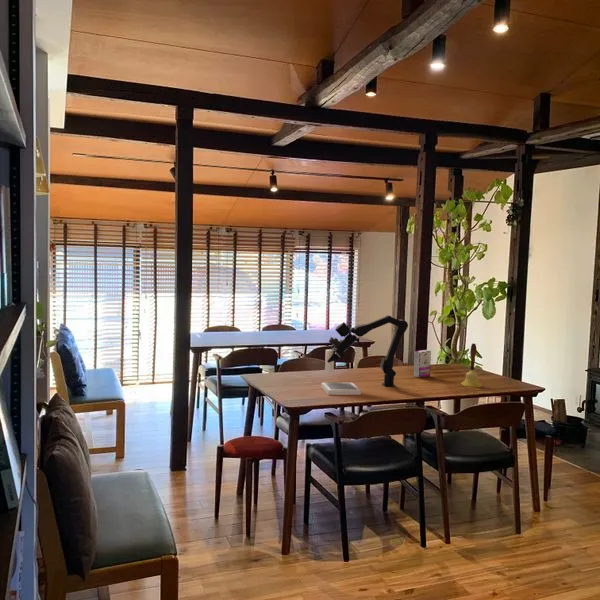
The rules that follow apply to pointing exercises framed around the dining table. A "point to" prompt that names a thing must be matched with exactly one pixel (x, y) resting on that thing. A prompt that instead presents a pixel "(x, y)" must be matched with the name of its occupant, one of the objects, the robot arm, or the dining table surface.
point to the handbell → (472, 371)
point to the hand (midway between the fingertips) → (327, 361)
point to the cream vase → (329, 366)
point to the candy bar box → (422, 363)
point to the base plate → (340, 389)
